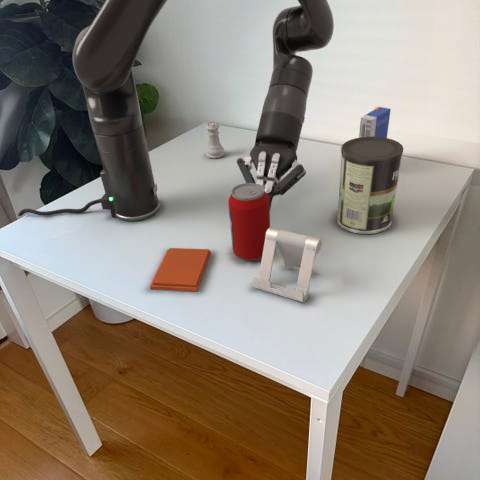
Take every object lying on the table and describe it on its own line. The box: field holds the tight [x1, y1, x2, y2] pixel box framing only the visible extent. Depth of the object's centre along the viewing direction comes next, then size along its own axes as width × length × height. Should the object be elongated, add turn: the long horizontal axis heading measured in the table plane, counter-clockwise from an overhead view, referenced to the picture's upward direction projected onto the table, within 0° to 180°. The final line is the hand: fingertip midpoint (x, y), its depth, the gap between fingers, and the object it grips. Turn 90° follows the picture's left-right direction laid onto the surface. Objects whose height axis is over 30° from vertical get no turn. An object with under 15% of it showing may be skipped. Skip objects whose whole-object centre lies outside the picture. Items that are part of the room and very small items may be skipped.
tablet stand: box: [252, 226, 323, 303], centre depth 75 cm, size 9×8×8 cm
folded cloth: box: [149, 247, 212, 293], centre depth 83 cm, size 8×11×1 cm
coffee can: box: [336, 137, 404, 235], centre depth 87 cm, size 10×10×14 cm
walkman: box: [358, 106, 392, 138], centre depth 104 cm, size 8×3×12 cm, turn 138°
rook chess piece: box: [205, 120, 225, 160], centre depth 116 cm, size 4×4×8 cm
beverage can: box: [227, 182, 271, 261], centre depth 82 cm, size 7×7×12 cm
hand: (259, 215), depth 85 cm, fingers closed
